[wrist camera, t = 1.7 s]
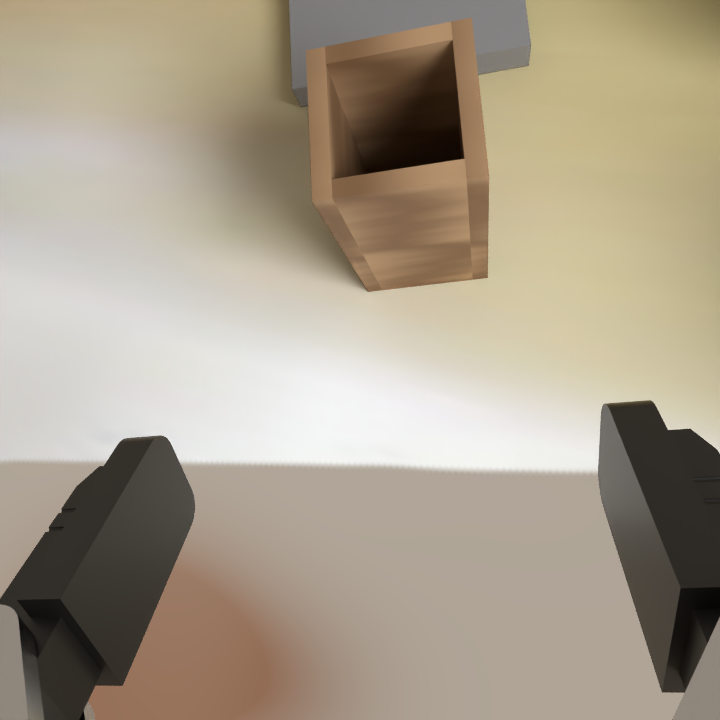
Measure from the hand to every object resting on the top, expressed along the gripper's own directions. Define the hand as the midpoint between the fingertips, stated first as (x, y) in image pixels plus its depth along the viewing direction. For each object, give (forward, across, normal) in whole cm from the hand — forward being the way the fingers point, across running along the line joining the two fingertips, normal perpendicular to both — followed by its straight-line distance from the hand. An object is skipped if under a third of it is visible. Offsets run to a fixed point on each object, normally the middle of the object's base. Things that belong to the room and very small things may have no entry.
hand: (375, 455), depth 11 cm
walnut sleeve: (+20, 0, +3) cm, 20 cm away
